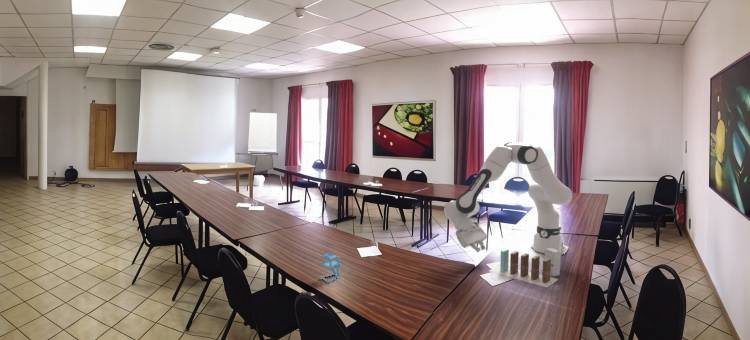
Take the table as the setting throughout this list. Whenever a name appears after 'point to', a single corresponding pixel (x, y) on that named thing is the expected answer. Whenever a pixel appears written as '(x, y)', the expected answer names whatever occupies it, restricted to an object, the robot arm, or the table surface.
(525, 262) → the domino
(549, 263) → the domino
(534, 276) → the domino
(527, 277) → the row mat
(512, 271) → the domino
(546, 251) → the skincare box
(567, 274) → the table surface
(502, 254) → the domino
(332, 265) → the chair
